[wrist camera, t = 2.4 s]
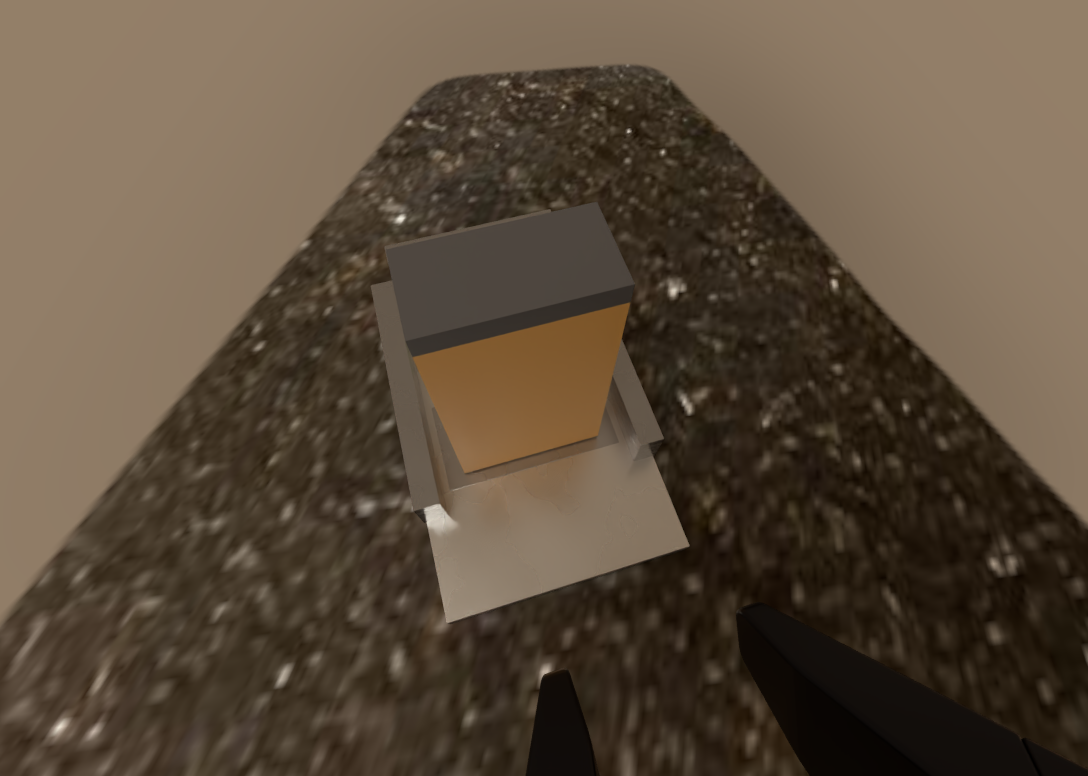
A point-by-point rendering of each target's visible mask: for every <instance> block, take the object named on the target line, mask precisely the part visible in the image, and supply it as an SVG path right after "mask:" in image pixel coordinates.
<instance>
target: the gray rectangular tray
mask: <svg viewBox="0 0 1088 776" xmlns="http://www.w3.org/2000/svg"><path fill="white" fill-rule="evenodd" d="M550 212H551V210H550V209H549V210H544V211H540V212H536V213H531V214H527V215H522V216H518V217H513V218H509V219H504V220H500V221H496V222H491V223H487V224H482V225H478V226H473V227H469V228H464V229H460V230H455V231H451V232H447V233H442V234H438V235H433V236H429V237H424V238H420V239H415V240H411V241H406V242H402V243H398V244H393V245H389V246H384V247H385V251H386V249H390V248H394V247H399V246H403V245H408V244H412V243H416V242H421V241H425V240H430V239H434V238H439V237H443V236H448V235H452V234H456V233H461V232H465V231H470V230H474V229H479V228H483V227H487V226H492V225H496V224H501V223H505V222H510V221H514V220H519V219H523V218H527V217H532V216H536V215H541V214H545V213H550ZM386 256H387V254H386ZM387 261H388V258H387ZM388 264H389V263H388ZM371 289H372V294H373V300H374V305H375V310H376V315H377V321H378V326H379V331H380V336H381V342H382V347H383V352H384V357H385V363H386V368H387V373H388V378H389V384H390V389H391V394H392V399H393V405H394V410H395V415H396V420H397V426H398V431H399V436H400V442H401V447H402V452H403V457H404V463H405V468H406V473H407V478H408V484H409V489H410V494H411V499H412V505H413V510H414V512H415V513H416V514H417V515H418V516H419V517H420V518H421V519H422V521H423V522H424V523H425V522H427V525H428V530H429V535H430V540H431V545H432V551H433V556H434V561H435V566H436V571H437V576H438V581H439V586H440V591H441V596H442V601H443V606H444V611H445V616H446V621H447V623H448V624H453V623H456V622H459V621H462V620H465V619H468V618H472V617H475V616H478V615H481V614H484V613H487V612H490V611H494V610H497V609H500V608H503V607H506V606H509V605H512V604H515V603H519V602H522V601H525V600H528V599H531V598H534V597H537V596H541V595H544V594H547V593H550V592H553V591H556V590H559V589H563V588H566V587H569V586H572V585H575V584H578V583H581V582H585V581H588V580H591V579H594V578H597V577H600V576H603V575H607V574H610V573H613V572H616V571H619V570H622V569H625V568H629V567H632V566H635V565H638V564H641V563H644V562H647V561H651V560H654V559H657V558H660V557H663V556H666V555H669V554H673V553H676V552H679V551H682V550H685V549H686V548H688V547H689V543H688V541H687V538H686V536H685V534H684V531H683V529H682V526H681V524H680V521H679V519H678V516H677V514H676V511H675V509H674V507H673V504H672V502H671V499H670V497H669V494H668V492H667V489H666V487H665V484H664V482H663V480H662V477H661V475H660V472H659V470H658V467H657V465H656V462H655V460H654V458H653V456H654V455H655V454H656V452H657V451H658V449H659V447H660V445H661V443H662V442H663V440H664V437H663V435H662V433H661V430H660V428H659V426H658V423H657V421H656V418H655V416H654V414H653V411H652V409H651V407H650V404H649V402H648V400H647V397H646V395H645V393H644V390H643V388H642V385H641V383H640V381H639V378H638V376H637V374H636V371H635V369H634V367H633V364H632V362H631V360H630V357H629V355H628V352H627V350H626V348H625V345H624V343H623V341H622V339H621V343H620V347H619V351H618V355H617V359H616V363H615V368H614V372H613V376H612V380H611V384H610V388H609V392H608V396H607V400H606V404H605V409H604V413H603V417H602V421H601V425H600V429H599V433H598V436H595V437H592V438H588V439H585V440H581V441H578V442H574V443H571V444H567V445H564V446H560V447H557V448H553V449H549V450H546V451H542V452H539V453H535V454H532V455H528V456H525V457H521V458H518V459H514V460H511V461H507V462H504V463H500V464H497V465H493V466H489V467H486V468H482V469H479V470H475V471H472V472H468V473H464V471H463V469H462V467H461V464H460V462H459V460H458V458H457V455H456V453H455V451H454V449H453V447H452V444H451V442H450V440H449V438H448V435H447V433H446V431H445V429H444V427H443V424H442V422H441V420H440V418H439V415H438V413H437V411H436V409H435V407H434V404H433V402H432V400H431V398H430V395H429V393H428V391H427V389H426V386H425V384H424V382H423V380H422V378H421V375H420V373H419V371H418V369H417V366H416V364H415V362H414V360H413V358H412V355H411V353H410V351H409V349H408V346H407V344H406V342H405V338H404V333H403V329H402V324H401V319H400V315H399V310H398V305H397V301H396V296H395V291H394V287H393V282H392V281H388V282H384V283H379V284H375V285H371Z"/></svg>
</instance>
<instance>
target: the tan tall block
mask: <svg viewBox="0 0 1088 776" xmlns="http://www.w3.org/2000/svg"><path fill="white" fill-rule="evenodd" d="M386 254H387V258H388V263H389V268H390V272H391V277H392V282H393V287H394V291H395V296H396V301H397V305H398V310H399V315H400V319H401V324H402V329H403V333H404V338H405V342H406V344H407V346H408V349H409V351H410V353H411V355H412V358H413V360H414V362H415V364H416V366H417V369H418V371H419V373H420V375H421V378H422V380H423V382H424V384H425V386H426V389H427V391H428V393H429V395H430V398H431V400H432V402H433V404H434V407H435V409H436V411H437V413H438V415H439V418H440V420H441V422H442V424H443V427H444V429H445V431H446V433H447V435H448V438H449V440H450V442H451V444H452V447H453V449H454V451H455V453H456V455H457V458H458V460H459V462H460V464H461V467H462V469H463V471H464V473H468V472H472V471H475V470H479V469H482V468H486V467H489V466H493V465H497V464H500V463H504V462H507V461H511V460H514V459H518V458H521V457H525V456H528V455H532V454H535V453H539V452H542V451H546V450H549V449H553V448H557V447H560V446H564V445H567V444H571V443H574V442H578V441H581V440H585V439H588V438H592V437H595V436H598V433H599V429H600V425H601V421H602V417H603V413H604V409H605V404H606V400H607V396H608V392H609V388H610V384H611V380H612V376H613V372H614V368H615V363H616V359H617V355H618V351H619V347H620V343H621V339H622V335H623V331H624V327H625V322H626V318H627V314H628V310H629V306H630V302H631V298H632V294H633V290H634V286H635V283H634V281H633V279H632V277H631V275H630V273H629V270H628V268H627V266H626V264H625V262H624V260H623V257H622V255H621V253H620V251H619V249H618V247H617V244H616V242H615V240H614V238H613V236H612V234H611V231H610V229H609V227H608V225H607V223H606V221H605V218H604V216H603V214H602V212H601V210H600V208H599V205H598V203H597V202H594V203H590V204H585V205H581V206H576V207H572V208H567V209H563V210H559V211H554V212H550V213H545V214H541V215H536V216H532V217H527V218H523V219H519V220H514V221H510V222H505V223H501V224H496V225H492V226H487V227H483V228H479V229H474V230H470V231H465V232H461V233H456V234H452V235H448V236H443V237H439V238H434V239H430V240H425V241H421V242H416V243H412V244H408V245H403V246H399V247H394V248H390V249H386Z"/></svg>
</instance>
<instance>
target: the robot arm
mask: <svg viewBox="0 0 1088 776" xmlns="http://www.w3.org/2000/svg"><path fill="white" fill-rule="evenodd" d="M736 621H737V631H738V640H739V648H740V652H741V655H742V658H743V660H744V662H745V664H746V666H747V668H748V670H749V671H750V673H751V675H752V677H753V679H754V680H755V682H756V684H757V686H758V688H759V689H760V691H761V693H762V695H763V696H764V698H765V700H766V702H767V704H768V705H769V707H770V709H771V711H772V713H773V714H774V716H775V718H776V720H777V722H778V723H779V725H780V727H781V729H782V731H783V732H784V734H785V736H786V738H787V740H788V741H789V743H790V745H791V747H792V748H793V750H794V752H795V753H796V755H797V757H798V759H799V760H800V762H801V763H802V765H803V766H804V768H805V769H806V771H807V773H808V774H809V776H1088V769H1087V768H1085V767H1083V766H1081V765H1079V764H1077V763H1075V762H1073V761H1071V760H1069V759H1067V758H1065V757H1063V756H1061V755H1059V754H1057V753H1055V752H1053V751H1051V750H1049V749H1047V748H1046V747H1044V746H1042V745H1040V744H1038V743H1036V742H1034V741H1032V740H1030V739H1028V738H1023V739H1021V737H1020V736H1019V735H1018V734H1017V733H1016V732H1014V731H1012V730H1010V729H1008V728H1006V727H1004V726H1002V725H1000V724H998V723H996V722H994V721H992V720H990V719H989V718H987V717H985V716H983V715H981V714H979V713H977V712H975V711H973V710H971V709H969V708H967V707H965V706H963V705H961V704H959V703H957V702H955V701H953V700H951V699H950V698H948V697H946V696H944V695H942V694H940V693H938V692H936V691H934V690H932V689H930V688H928V687H926V686H924V685H922V684H920V683H918V682H916V681H914V680H913V679H911V678H909V677H907V676H905V675H903V674H901V673H899V672H897V671H895V670H893V669H891V668H889V667H887V666H885V665H883V664H881V663H879V662H877V661H875V660H874V659H872V658H870V657H868V656H866V655H864V654H862V653H860V652H858V651H856V650H854V649H852V648H850V647H848V646H846V645H844V644H842V643H840V642H838V641H836V640H835V639H833V638H831V637H829V636H827V635H825V634H823V633H821V632H819V631H817V630H815V629H813V628H811V627H809V626H807V625H805V624H803V623H801V622H799V621H798V620H796V619H794V618H792V617H790V616H788V615H786V614H784V613H782V612H780V611H778V610H776V609H774V608H772V607H770V606H768V605H766V604H764V603H760V602H756V603H753V604H750V605H747V606H744V607H741V608H739V609H738V610H737V612H736ZM526 776H600V775H599V771H598V767H597V763H596V759H595V755H594V751H593V747H592V743H591V739H590V735H589V732H588V728H587V725H586V722H585V719H584V716H583V713H582V710H581V707H580V703H579V700H578V697H577V694H576V691H575V688H574V685H573V682H572V679H571V676H570V673H569V670H568V669H566V668H562V669H559V670H556V671H553V672H550V673H547V674H545V675H544V676H543V677H542V680H541V685H540V691H539V697H538V703H537V709H536V715H535V721H534V728H533V734H532V740H531V746H530V752H529V758H528V764H527V770H526Z"/></svg>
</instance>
